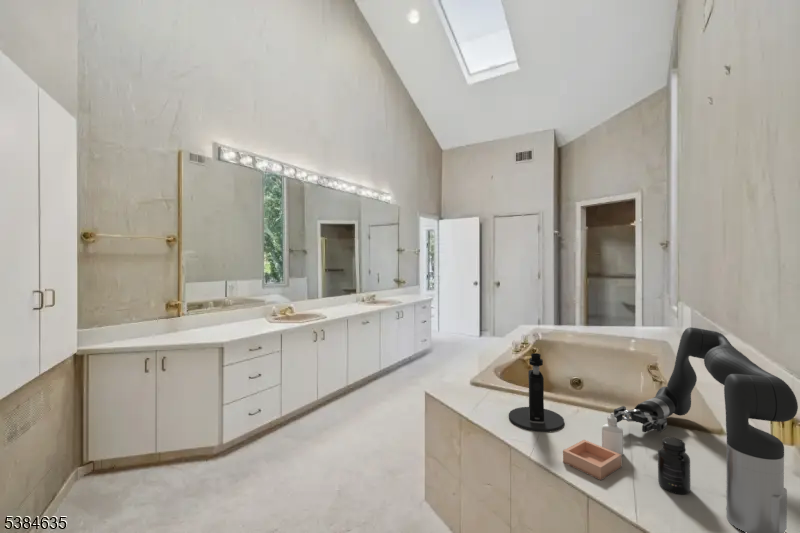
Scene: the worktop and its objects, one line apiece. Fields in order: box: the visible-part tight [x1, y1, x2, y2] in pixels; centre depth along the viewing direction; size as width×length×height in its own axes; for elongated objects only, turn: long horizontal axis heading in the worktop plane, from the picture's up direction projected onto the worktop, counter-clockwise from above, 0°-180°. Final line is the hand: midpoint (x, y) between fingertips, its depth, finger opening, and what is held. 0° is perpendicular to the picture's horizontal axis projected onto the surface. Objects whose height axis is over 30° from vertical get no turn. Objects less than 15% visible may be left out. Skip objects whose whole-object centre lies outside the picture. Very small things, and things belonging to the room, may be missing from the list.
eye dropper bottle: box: [601, 412, 624, 456], centre depth 116 cm, size 4×6×12 cm
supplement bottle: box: [657, 436, 692, 495], centre depth 98 cm, size 7×7×12 cm
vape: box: [508, 352, 565, 433], centre depth 139 cm, size 19×19×25 cm
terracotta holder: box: [562, 439, 622, 481], centre depth 110 cm, size 11×11×4 cm
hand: (628, 424), depth 121 cm, fingers open, 8 cm apart
